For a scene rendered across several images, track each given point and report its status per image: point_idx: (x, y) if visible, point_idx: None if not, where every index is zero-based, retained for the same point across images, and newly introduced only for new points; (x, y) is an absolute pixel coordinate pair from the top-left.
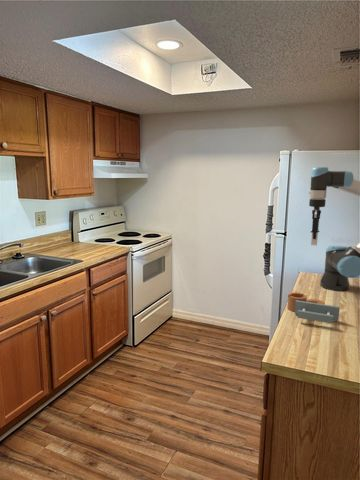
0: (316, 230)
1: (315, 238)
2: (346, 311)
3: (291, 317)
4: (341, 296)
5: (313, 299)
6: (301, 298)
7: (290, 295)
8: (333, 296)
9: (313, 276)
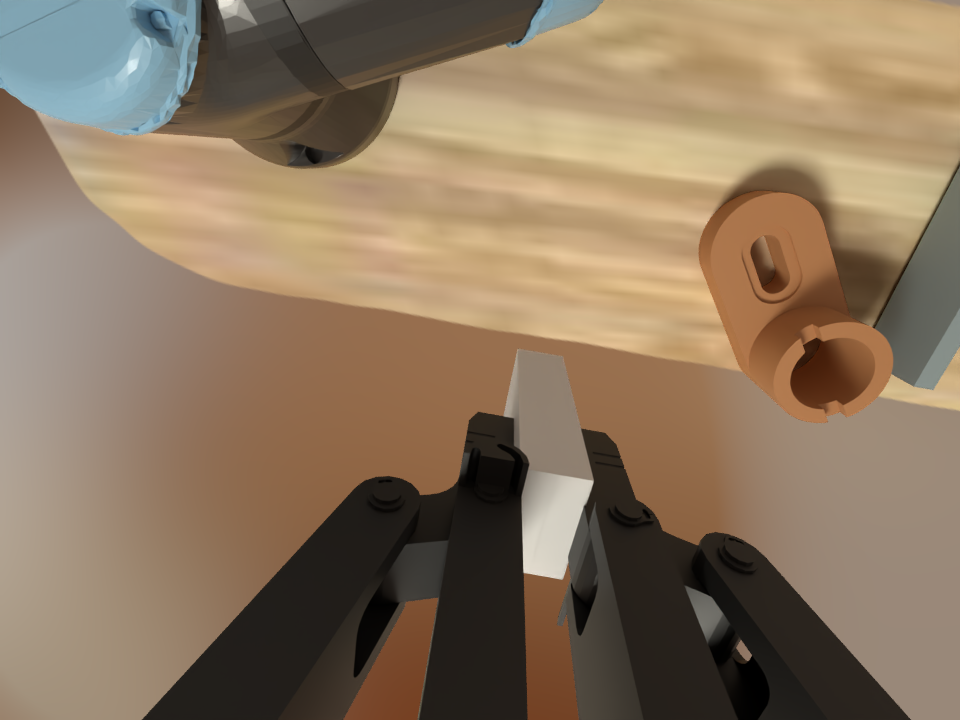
0: (777, 595)
1: (612, 446)
2: (814, 48)
3: None
4: None
5: (716, 256)
6: (891, 356)
7: (823, 410)
8: (530, 99)
9: (121, 195)
